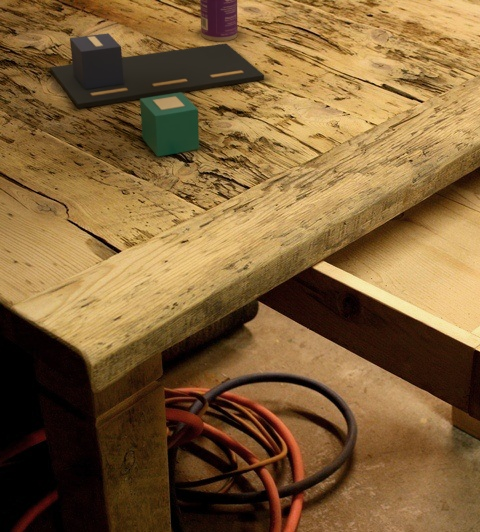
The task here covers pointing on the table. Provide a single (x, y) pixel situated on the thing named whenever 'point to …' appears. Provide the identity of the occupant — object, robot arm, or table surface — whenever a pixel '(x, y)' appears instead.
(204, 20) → the container
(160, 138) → the green cube
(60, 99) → the table surface
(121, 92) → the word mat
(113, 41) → the striped navy gift box
